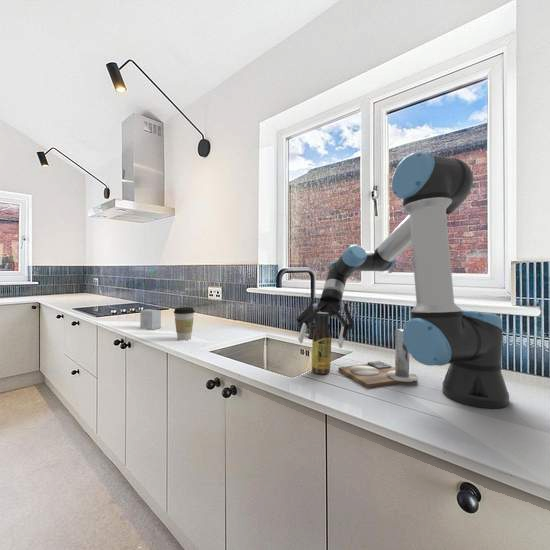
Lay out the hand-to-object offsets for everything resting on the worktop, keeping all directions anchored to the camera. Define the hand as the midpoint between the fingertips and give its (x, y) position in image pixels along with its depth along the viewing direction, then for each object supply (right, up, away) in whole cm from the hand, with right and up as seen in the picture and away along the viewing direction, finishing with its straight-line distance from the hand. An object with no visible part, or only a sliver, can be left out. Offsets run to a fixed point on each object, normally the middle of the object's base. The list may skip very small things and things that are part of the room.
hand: (319, 343), depth 101 cm
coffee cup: (-59, -9, +49) cm, 77 cm away
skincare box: (-86, -8, +76) cm, 116 cm away
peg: (+25, -9, -6) cm, 27 cm away
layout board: (+19, -10, -3) cm, 21 cm away
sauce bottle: (+1, -10, +2) cm, 10 cm away
